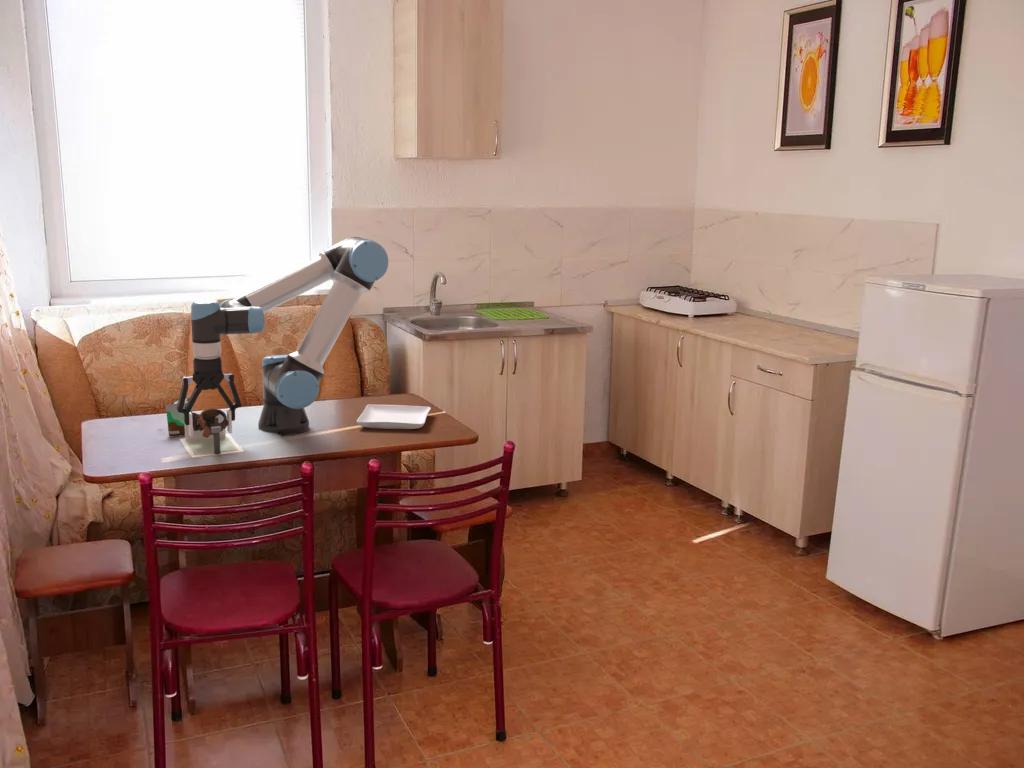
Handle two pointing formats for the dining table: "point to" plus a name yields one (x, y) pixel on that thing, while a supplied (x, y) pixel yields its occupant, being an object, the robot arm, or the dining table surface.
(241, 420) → the dining table surface
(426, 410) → the salad plate
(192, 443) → the stand
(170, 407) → the food container
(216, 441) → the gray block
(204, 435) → the pottery mug
